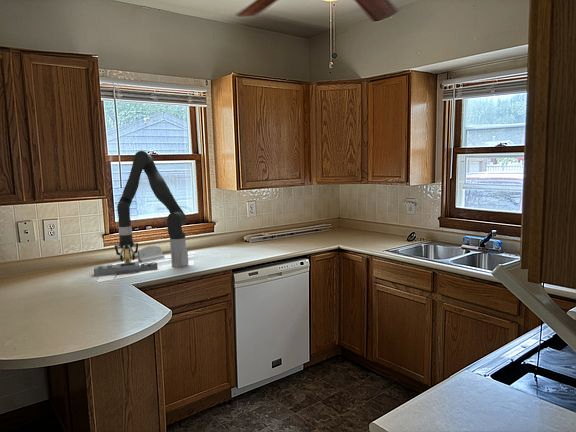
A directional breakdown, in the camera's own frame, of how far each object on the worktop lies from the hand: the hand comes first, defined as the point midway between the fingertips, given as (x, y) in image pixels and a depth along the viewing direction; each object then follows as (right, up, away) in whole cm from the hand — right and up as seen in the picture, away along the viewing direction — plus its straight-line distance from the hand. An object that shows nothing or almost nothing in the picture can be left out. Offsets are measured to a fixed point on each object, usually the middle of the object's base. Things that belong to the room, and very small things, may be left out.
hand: (127, 260), depth 268 cm
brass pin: (0, -4, +1) cm, 4 cm away
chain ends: (+4, -5, -10) cm, 12 cm away
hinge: (+8, -2, +20) cm, 22 cm away
